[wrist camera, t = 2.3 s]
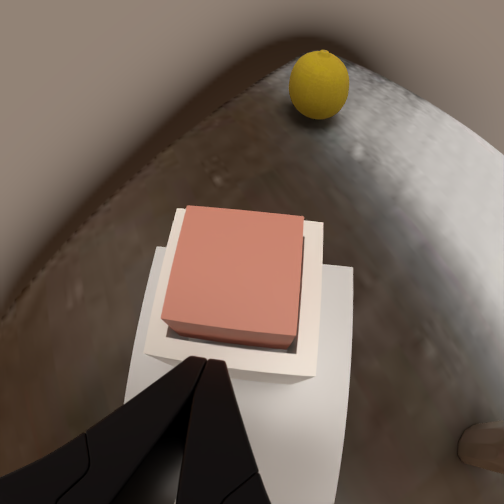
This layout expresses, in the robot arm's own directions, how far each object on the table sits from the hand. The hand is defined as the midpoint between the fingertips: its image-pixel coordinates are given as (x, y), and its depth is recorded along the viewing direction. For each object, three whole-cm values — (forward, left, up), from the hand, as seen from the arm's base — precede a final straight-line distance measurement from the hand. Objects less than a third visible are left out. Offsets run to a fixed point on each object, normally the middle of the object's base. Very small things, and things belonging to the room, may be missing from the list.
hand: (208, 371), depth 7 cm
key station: (0, 0, -13) cm, 13 cm away
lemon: (+23, +11, -13) cm, 29 cm away
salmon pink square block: (+3, +2, -5) cm, 7 cm away
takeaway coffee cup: (+6, -17, -13) cm, 23 cm away
